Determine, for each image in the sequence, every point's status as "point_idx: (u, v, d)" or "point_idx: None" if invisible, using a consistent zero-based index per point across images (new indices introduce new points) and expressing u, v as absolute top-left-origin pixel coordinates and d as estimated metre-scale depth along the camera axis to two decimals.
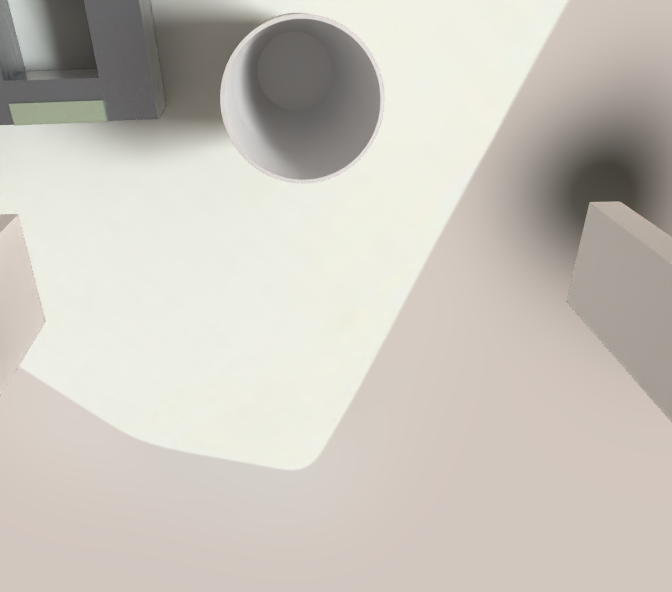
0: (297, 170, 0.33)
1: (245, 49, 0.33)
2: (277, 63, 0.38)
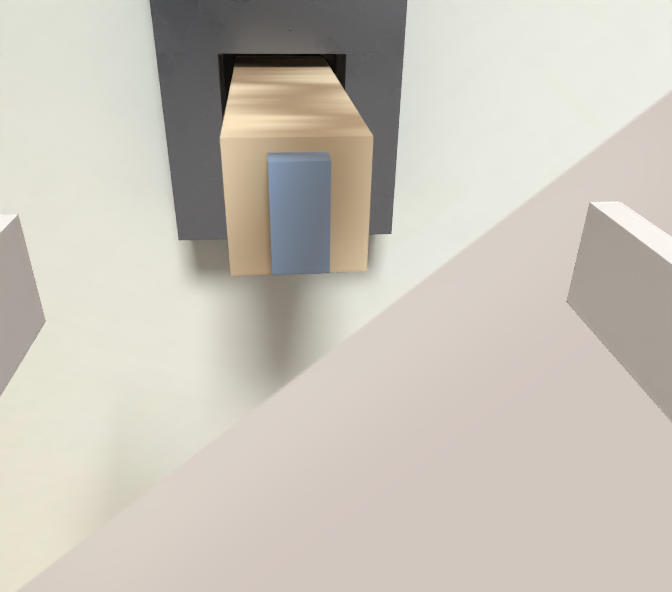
0: None
1: None
2: None
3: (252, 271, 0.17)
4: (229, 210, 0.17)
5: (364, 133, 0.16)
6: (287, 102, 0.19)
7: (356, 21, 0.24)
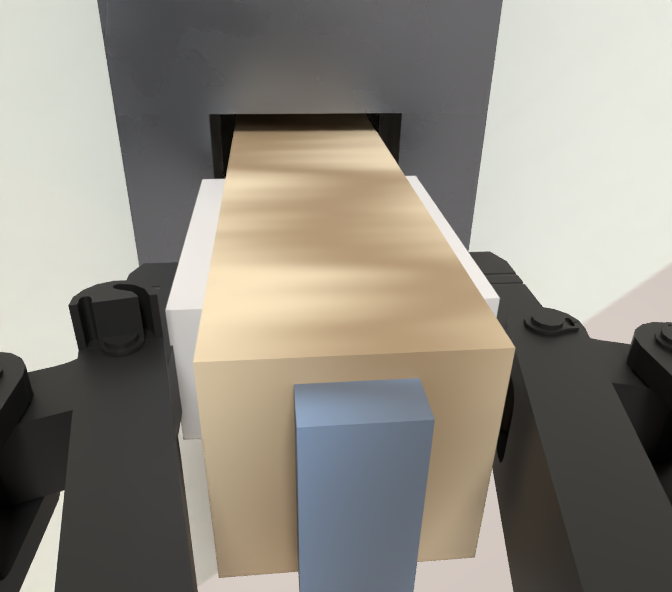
0: None
1: None
2: None
3: (260, 568, 0.09)
4: (215, 481, 0.08)
5: (493, 337, 0.08)
6: (323, 224, 0.11)
7: (420, 66, 0.16)
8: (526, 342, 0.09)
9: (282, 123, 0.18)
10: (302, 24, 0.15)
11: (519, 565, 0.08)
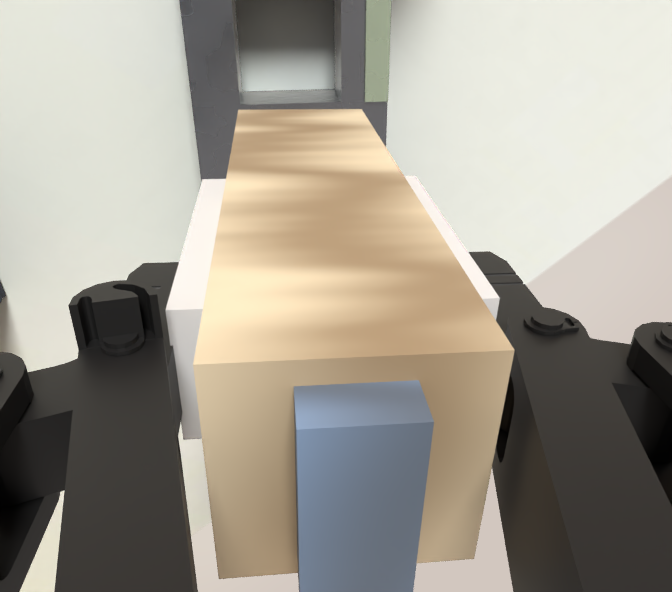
0: None
1: None
2: None
3: (260, 569, 0.09)
4: (215, 482, 0.08)
5: (492, 339, 0.08)
6: (322, 226, 0.11)
7: None
8: (525, 342, 0.09)
9: (282, 124, 0.18)
10: None
11: (519, 565, 0.08)
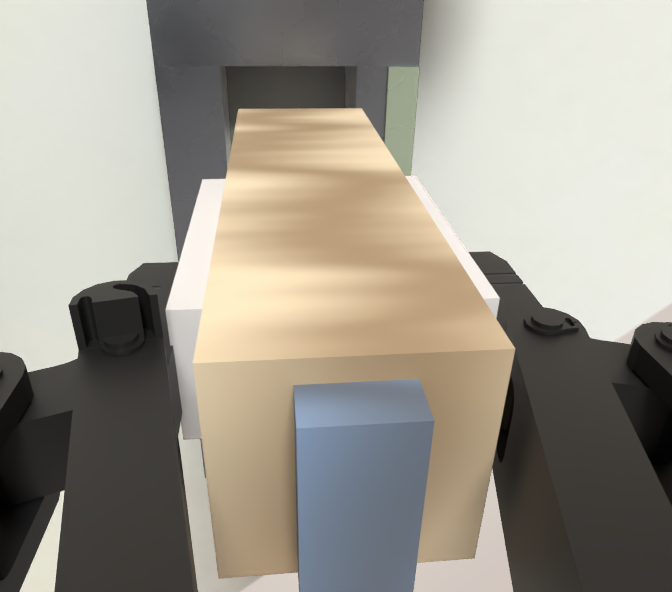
0: None
1: None
2: None
3: (260, 569, 0.09)
4: (214, 482, 0.08)
5: (493, 338, 0.08)
6: (322, 225, 0.11)
7: None
8: (526, 342, 0.09)
9: (282, 123, 0.18)
10: None
11: (519, 565, 0.08)
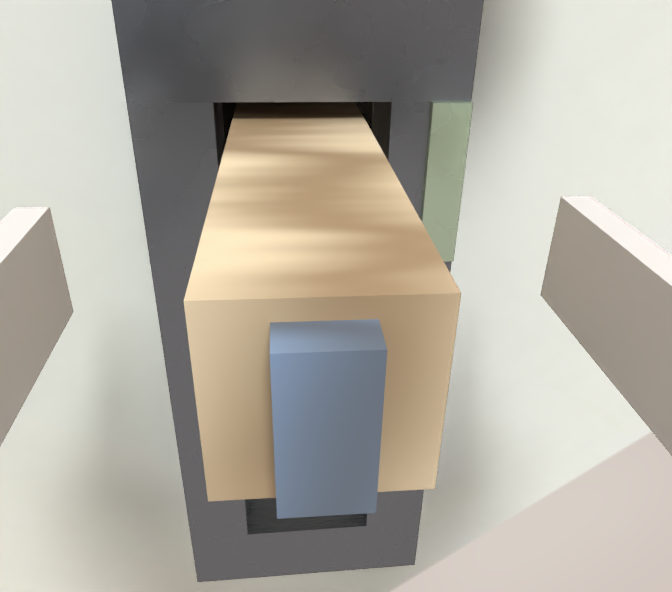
0: None
1: None
2: None
3: (244, 494, 0.10)
4: (204, 410, 0.09)
5: (443, 284, 0.09)
6: (306, 196, 0.12)
7: None
8: None
9: (278, 112, 0.19)
10: None
11: None
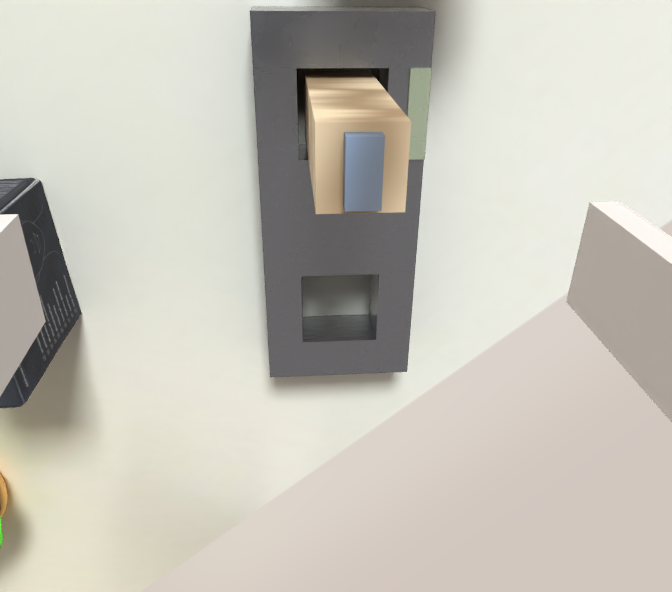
0: None
1: None
2: None
3: (330, 211, 0.27)
4: (317, 169, 0.26)
5: (405, 120, 0.25)
6: (351, 101, 0.29)
7: (386, 257, 0.40)
8: None
9: (328, 75, 0.35)
10: (339, 245, 0.39)
11: None
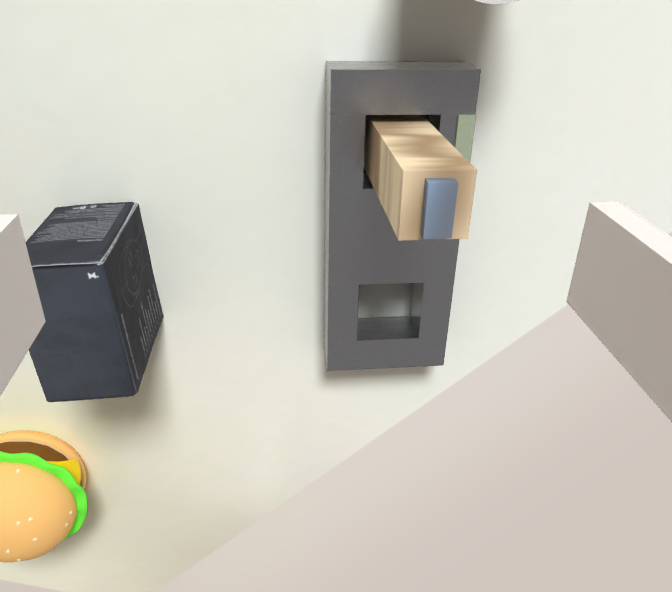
0: None
1: None
2: None
3: (409, 238, 0.34)
4: (402, 206, 0.33)
5: (471, 168, 0.33)
6: (421, 149, 0.36)
7: (430, 268, 0.47)
8: None
9: (389, 118, 0.42)
10: (392, 258, 0.46)
11: None
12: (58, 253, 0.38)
